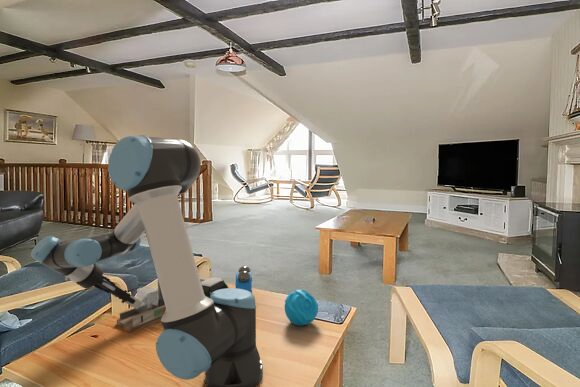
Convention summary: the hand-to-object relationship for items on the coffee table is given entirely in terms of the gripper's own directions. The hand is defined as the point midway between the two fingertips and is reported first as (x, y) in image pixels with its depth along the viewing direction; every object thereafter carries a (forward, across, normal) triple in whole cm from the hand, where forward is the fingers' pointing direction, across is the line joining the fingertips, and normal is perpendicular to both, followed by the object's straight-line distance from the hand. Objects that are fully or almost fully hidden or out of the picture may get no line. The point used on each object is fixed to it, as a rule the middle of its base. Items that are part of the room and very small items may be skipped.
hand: (138, 305), depth 117 cm
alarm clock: (+27, +20, +18) cm, 38 cm away
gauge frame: (+7, 0, -1) cm, 7 cm away
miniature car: (+24, +5, +15) cm, 28 cm away
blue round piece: (+28, +46, +20) cm, 58 cm away
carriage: (+5, +1, -1) cm, 5 cm away
